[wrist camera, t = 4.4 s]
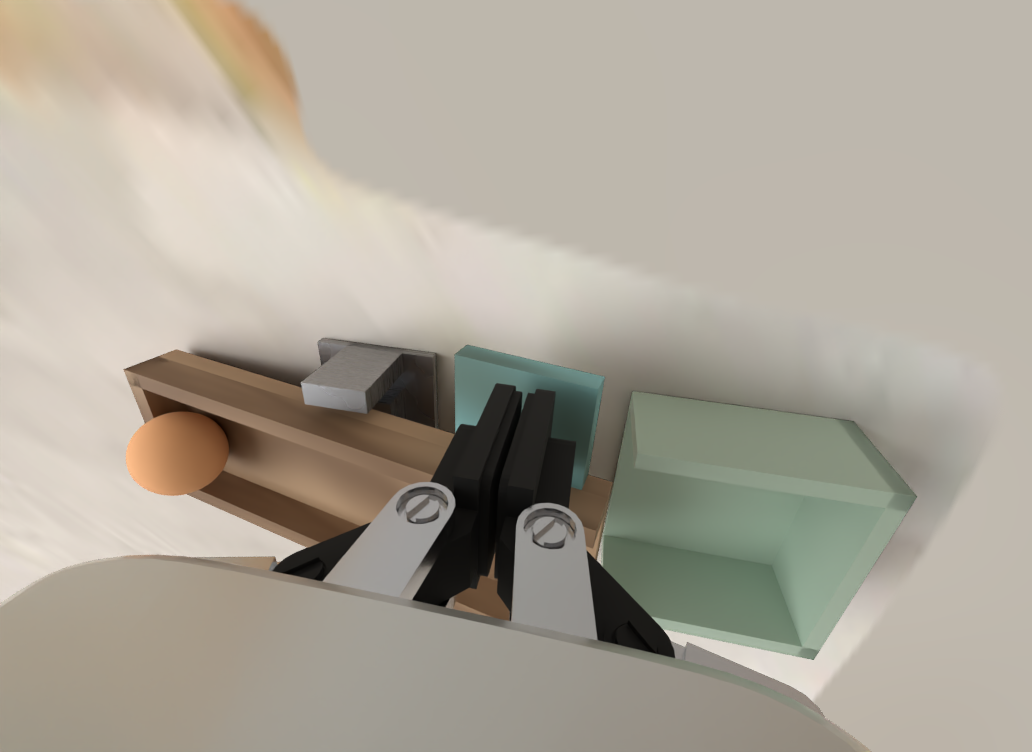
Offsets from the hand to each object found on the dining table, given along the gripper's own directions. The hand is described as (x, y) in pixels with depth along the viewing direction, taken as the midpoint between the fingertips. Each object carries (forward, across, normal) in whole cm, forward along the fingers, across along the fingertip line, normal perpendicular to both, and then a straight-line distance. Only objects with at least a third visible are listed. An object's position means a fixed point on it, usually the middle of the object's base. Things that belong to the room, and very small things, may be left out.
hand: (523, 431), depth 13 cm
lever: (+3, +7, +4) cm, 8 cm away
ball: (+2, +15, +5) cm, 16 cm away
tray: (+6, -8, +5) cm, 11 cm away
